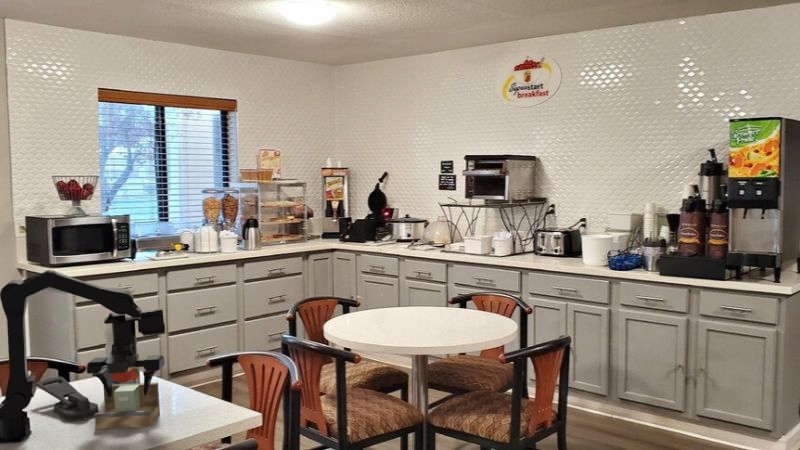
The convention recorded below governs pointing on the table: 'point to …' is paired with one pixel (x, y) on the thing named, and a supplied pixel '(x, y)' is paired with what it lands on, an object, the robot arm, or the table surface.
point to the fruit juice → (132, 372)
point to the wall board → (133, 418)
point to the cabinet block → (127, 398)
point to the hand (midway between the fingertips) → (128, 395)
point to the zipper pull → (68, 400)
